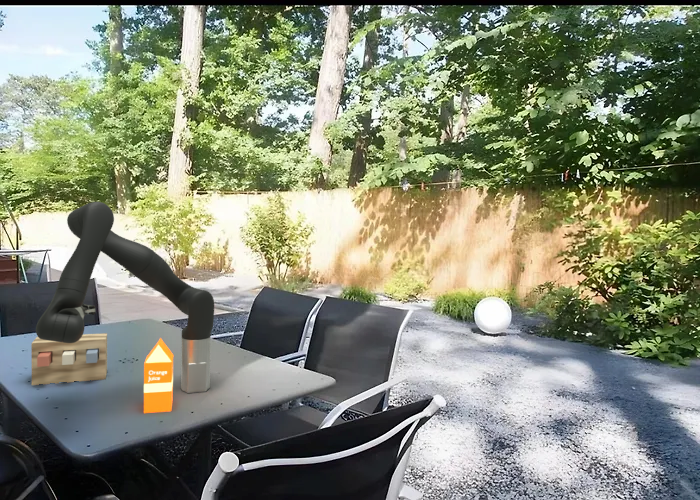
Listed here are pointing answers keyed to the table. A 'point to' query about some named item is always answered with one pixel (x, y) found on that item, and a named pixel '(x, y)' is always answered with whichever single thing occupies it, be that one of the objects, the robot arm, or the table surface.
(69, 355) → the white key
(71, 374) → the key box
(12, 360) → the table surface
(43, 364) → the red key
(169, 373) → the orange juice
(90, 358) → the blue key
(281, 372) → the table surface
